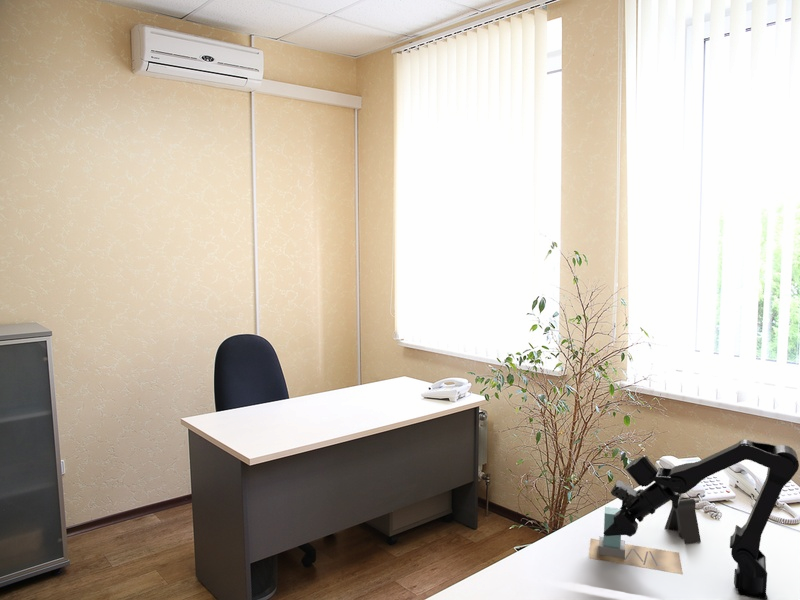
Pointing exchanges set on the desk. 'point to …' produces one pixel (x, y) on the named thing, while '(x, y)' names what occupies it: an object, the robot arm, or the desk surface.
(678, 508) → the phone stand
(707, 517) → the desk surface
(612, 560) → the oak board
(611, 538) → the block
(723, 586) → the desk surface
